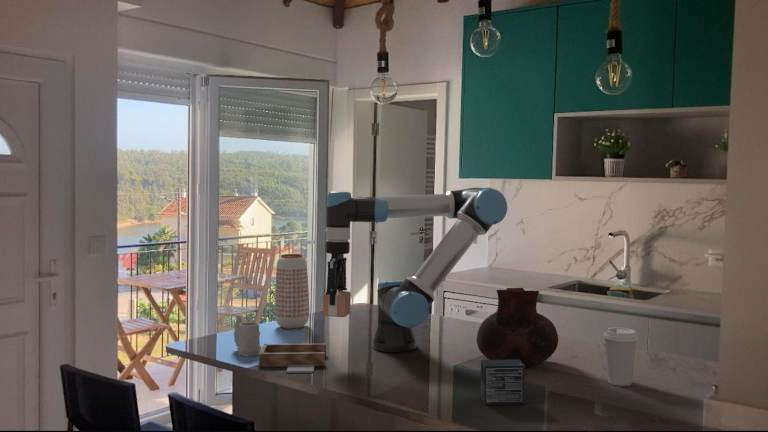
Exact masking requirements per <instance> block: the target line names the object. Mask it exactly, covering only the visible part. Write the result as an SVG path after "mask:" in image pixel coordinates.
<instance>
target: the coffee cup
mask: <svg viewBox="0 0 768 432" xmlns="http://www.w3.org/2000/svg"><path fill="white" fill-rule="evenodd" d="M602 337H603V339H604V347H605V359H606V360H605V362H606V376H607V382H608V384H609V385H610V384H611V385H613V386H621V387H626V386H631V385H632V383H633V375H634V365H635V357H636V351H637V342H638V340H639V336H638V334H637V332H636V330H635V329H631V328H626V327H608V328H606V329H605V332H604V333H603V335H602Z"/></svg>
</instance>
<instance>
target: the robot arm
mask: <svg viewBox="0 0 768 432" xmlns="http://www.w3.org/2000/svg"><path fill="white" fill-rule="evenodd" d="M325 206H326V220H325V221H326V224H325V225H326V227H325V229H324V233H326V234H325V239H326V240H327V241H326V242H325V253H326V254H330V255H331V256H330V257H331V258H330V259H329V261H327V280H326V291H325V292H326V294H327V295H329V302H328V315H330V316H329V317H332V316H337V305H338V295H336V294H337V291H347V290H348V288H347V260H348V259H347V257H345V255H346V254H349V253H350V251H351V250H350V249H351V248H350V244H351V243H350V240H351V223H376V224H377V223H385V222H387V220H388V219H402V218H405V219H406V218H426V217H429V218H430V217H447V218H448V219H457V220H456V221H455V222H454V224H453V225H452V226H451V228H450V229H449V230H448V231H447V233H446V234H445V235H444V237H443V238H441V241H439V243H438V244H437V245H436V247H435V248H434V249H433V250H432V252H431V253H430V255H429V256H428V257H427V258H426V260H424V262H423V263H422V264H421V266H420V267H419V268H418V269H417V270H416V272H415V273H414V275H413V276H408V277H406V278H405V279H403V280H383V281H379V282H378V284H377V290H376V292H377V327H376V330H375V332H374V335H373V338H372V348H373V350H377V351H378V352H379V351H380V352H386V353H404V352H411V351H413V350H415V349H417V339H416V335H415V332H414V329H413V328H415V327H418V326H420V325H422V324H423V323H424V322H425V321H426V320H427V318H428V315H429V312H430V306H431V305H432V304H433V302H434V301H435V292H436V291H437V290H438V288H439V287H440V285H442V283H443V282H444V281H445V279H446V278H447V277H448V275H449V274H450V273H451V272H452V270H453V269H454V268H455V267H456V265H457V264H458V262H460V260H461V259H462V257H463V256H464V255H465V253H466V252H467V251H468V249H469V248H470V247H471V246H472V245H473V243H474V242H475V241H476V239H477V238H478V237H479V236H482V235H483V236H484V235H486V234H487V233H488V231H489V230H490V229H491V228H492V226H493V225H497V224H499V223H500V222H502V221H503V220H504V219H505V217H506V215H507V212H508V202H507V199H506V196H504V194H503V193H502V192H501V191H500V190H498V189H496V188H492V187H470V188H465V189H464V188H463V189H458V190H457V189H456V190H447V191H446V192H445V193H439V194H437V193H434V194H413V195H411V194H410V195H387V196H386V195H384V196H363V197H362V196H356V197H352V193H351V192H350V191H330V192H328V194H327V198H326V205H325Z"/></svg>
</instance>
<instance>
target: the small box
mask: <svg viewBox="0 0 768 432" xmlns="http://www.w3.org/2000/svg"><path fill="white" fill-rule="evenodd" d="M524 366H525V365H524V364H523V363H522V362H521V361H520V360H489V359H481V360H480V399H481V401H482V402H483V405H484V406H508V405H509V406H512V405H514V406H515V405H518V406H519V405H520V406H521V405H525V403H526V401H525V368H524Z"/></svg>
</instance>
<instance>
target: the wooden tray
mask: <svg viewBox="0 0 768 432" xmlns="http://www.w3.org/2000/svg"><path fill="white" fill-rule="evenodd" d="M326 357H327V343H263V346H261V350H260V352H259V354H258V367H259V368H260V367H264V368H266V367H270V368H271V367H274V368H275V367H288V365H309V364H315V367H325V364H326V363H325V358H326Z"/></svg>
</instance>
